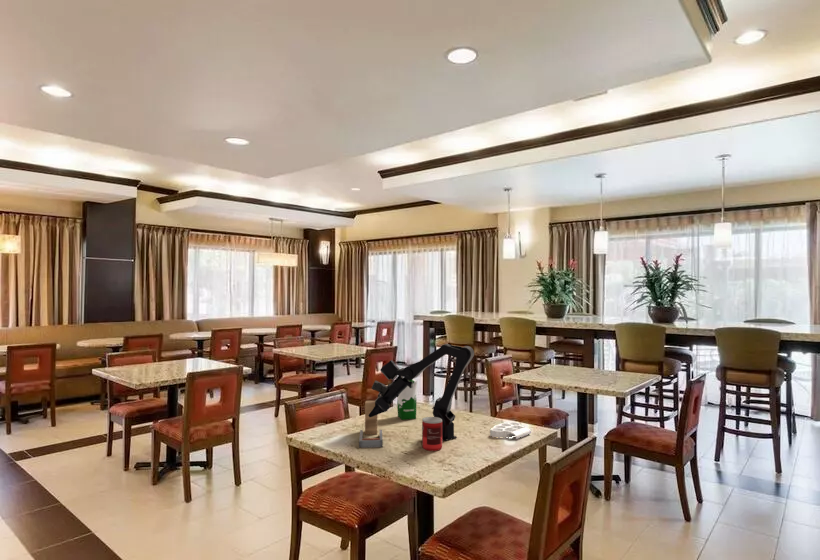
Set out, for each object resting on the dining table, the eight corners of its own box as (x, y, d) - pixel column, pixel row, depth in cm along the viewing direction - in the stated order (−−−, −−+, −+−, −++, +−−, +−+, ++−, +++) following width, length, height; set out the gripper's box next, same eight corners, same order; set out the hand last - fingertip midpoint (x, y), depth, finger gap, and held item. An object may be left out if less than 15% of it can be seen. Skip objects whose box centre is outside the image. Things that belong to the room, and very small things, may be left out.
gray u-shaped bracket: (382, 447, 187) (382, 440, 187) (359, 447, 186) (359, 441, 186) (381, 435, 202) (381, 429, 202) (360, 436, 201) (360, 430, 201)
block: (376, 434, 204) (377, 403, 204) (364, 434, 204) (365, 403, 204) (377, 431, 209) (377, 400, 209) (365, 431, 209) (365, 400, 209)
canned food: (431, 443, 191) (431, 415, 192) (446, 448, 186) (446, 419, 186) (417, 447, 186) (417, 419, 186) (433, 452, 180) (433, 422, 181)
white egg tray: (511, 443, 193) (482, 435, 203) (535, 434, 206) (506, 427, 216) (511, 435, 193) (482, 427, 204) (535, 426, 206) (506, 420, 216)
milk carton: (400, 420, 226) (400, 377, 227) (395, 416, 235) (395, 374, 235) (418, 419, 229) (418, 376, 229) (412, 414, 237) (412, 373, 238)
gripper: (384, 371, 216) (360, 395, 216) (380, 378, 197) (353, 405, 197) (402, 389, 216) (377, 413, 216) (400, 397, 197) (373, 424, 197)
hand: (370, 413), depth 206 cm, fingers open, 9 cm apart
